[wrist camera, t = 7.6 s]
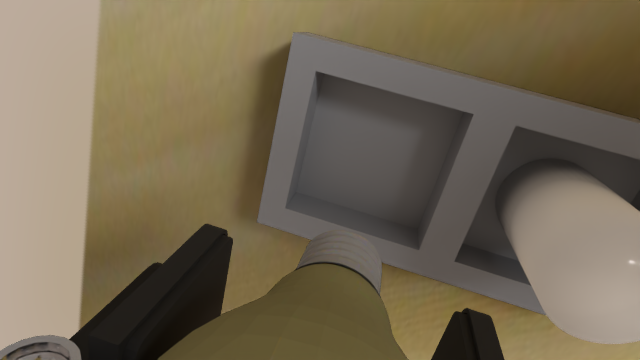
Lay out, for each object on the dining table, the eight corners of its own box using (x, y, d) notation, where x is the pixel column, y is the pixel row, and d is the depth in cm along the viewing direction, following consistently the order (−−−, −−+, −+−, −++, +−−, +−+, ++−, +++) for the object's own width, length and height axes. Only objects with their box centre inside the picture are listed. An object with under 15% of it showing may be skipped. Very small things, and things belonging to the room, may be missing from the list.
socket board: (701, 135, 19) (750, 153, 17) (591, 302, 24) (615, 337, 21) (307, 32, 22) (293, 32, 19) (272, 202, 26) (256, 222, 23)
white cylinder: (617, 174, 20) (734, 253, 13) (569, 253, 22) (648, 361, 15) (518, 146, 21) (579, 208, 14) (480, 227, 23) (515, 318, 16)
